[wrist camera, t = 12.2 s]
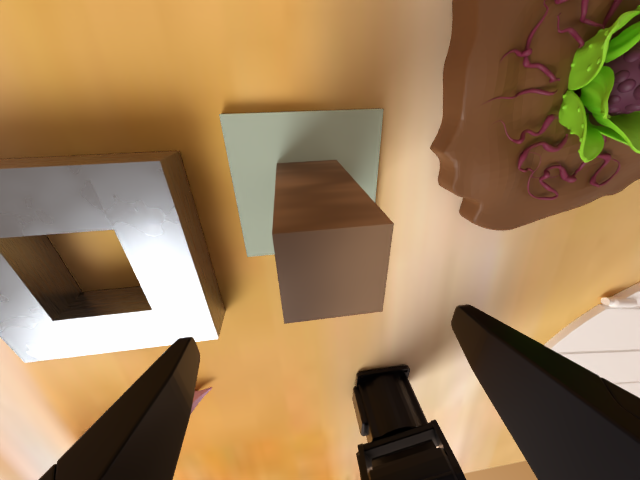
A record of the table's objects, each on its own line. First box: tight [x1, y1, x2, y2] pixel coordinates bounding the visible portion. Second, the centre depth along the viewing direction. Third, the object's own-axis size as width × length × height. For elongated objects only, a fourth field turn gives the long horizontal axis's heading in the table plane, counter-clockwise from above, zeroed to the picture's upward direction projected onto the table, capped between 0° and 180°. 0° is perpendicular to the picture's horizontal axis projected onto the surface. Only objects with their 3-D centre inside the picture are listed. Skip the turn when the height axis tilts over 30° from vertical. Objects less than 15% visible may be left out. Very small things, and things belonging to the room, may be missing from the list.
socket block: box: [0, 151, 225, 363], centre depth 17 cm, size 14×14×3 cm
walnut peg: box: [272, 160, 394, 324], centre depth 13 cm, size 4×4×10 cm
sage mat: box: [219, 109, 383, 257], centre depth 18 cm, size 10×10×1 cm
